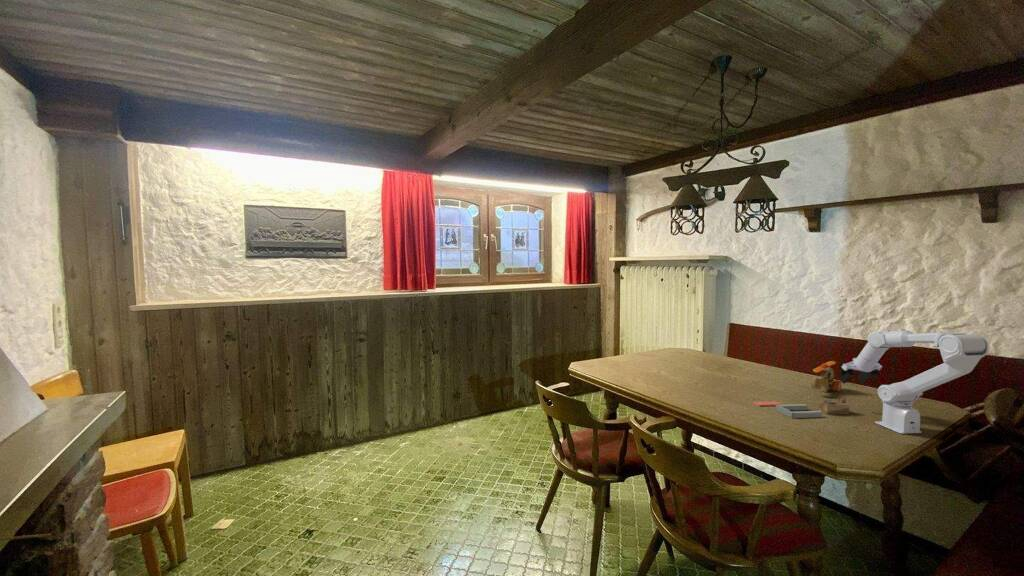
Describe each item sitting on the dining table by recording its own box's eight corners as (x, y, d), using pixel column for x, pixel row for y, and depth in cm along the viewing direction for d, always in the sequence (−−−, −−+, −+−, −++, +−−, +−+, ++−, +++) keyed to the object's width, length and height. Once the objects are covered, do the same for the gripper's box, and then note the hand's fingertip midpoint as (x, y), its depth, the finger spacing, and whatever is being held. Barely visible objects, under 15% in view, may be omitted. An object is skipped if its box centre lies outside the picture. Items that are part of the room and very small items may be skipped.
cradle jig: (821, 417, 154) (822, 412, 154) (791, 418, 153) (791, 413, 153) (804, 408, 162) (804, 404, 162) (775, 409, 161) (776, 405, 161)
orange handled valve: (842, 390, 184) (843, 361, 183) (824, 399, 172) (825, 368, 171) (821, 385, 191) (822, 357, 190) (802, 394, 179) (803, 364, 178)
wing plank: (776, 404, 169) (776, 401, 169) (782, 407, 166) (782, 404, 166) (753, 404, 169) (753, 401, 169) (758, 407, 165) (758, 405, 165)
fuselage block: (848, 414, 157) (849, 400, 156) (826, 415, 156) (827, 401, 156) (839, 410, 161) (840, 397, 160) (818, 411, 160) (819, 397, 160)
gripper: (878, 349, 157) (860, 373, 165) (843, 350, 156) (827, 374, 164) (893, 362, 151) (874, 386, 159) (857, 363, 151) (839, 387, 158)
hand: (851, 381), depth 161 cm, fingers open, 7 cm apart
